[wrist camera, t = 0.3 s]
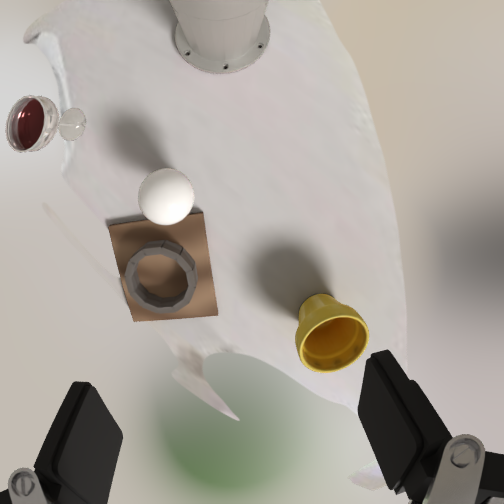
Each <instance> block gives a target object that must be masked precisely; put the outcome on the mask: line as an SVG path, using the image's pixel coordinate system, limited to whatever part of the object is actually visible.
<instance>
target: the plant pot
mask: <svg viewBox="0 0 504 504" xmlns="http://www.w3.org/2000/svg"><path fill="white" fill-rule="evenodd" d="M368 341H369V330H368V327H367V325H366V323H365V322H364V320H363V319H362V317H361V316H360V315H359V314H358V313H357V312H356V311H355V310H354V309H353V308H351V307H349V306H347V305H344V304H341V303H339V302H338V301H337V300H336V299H334V298H333V297H331V296H330V295H327V294H316V295H313V296H311V297H309V298H308V299H307V300H306V301H305V302H304V303H303V304H302V305H301V307H300V310H299V326H298V328H297V331H296V335H295V343H296V347H297V351H298V354H299V357H300V360H301V362H302V363H303V364H304V365H305V366H306V367H307V368H308V369H310V370H312V371H315V372H320V373H330V372H335V371H338V370H341V369H344V368H346V367H347V366H349V365H351V364H352V363H354V362H355V361H356V360H357V359H358V358H359V357H360V356H361V355H362V353H363V352H364V350H365V349H366V347H367V344H368Z"/></svg>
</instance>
